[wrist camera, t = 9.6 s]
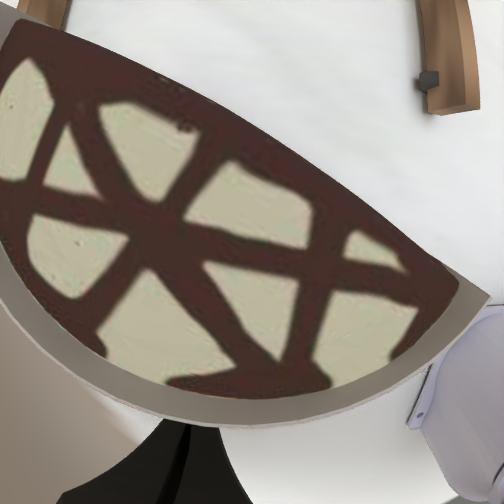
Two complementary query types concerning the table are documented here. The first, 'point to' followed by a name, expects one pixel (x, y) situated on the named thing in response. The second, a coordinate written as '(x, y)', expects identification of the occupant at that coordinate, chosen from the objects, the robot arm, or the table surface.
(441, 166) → the table surface
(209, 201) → the food container
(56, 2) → the wooden u-shaped frame
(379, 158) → the table surface
